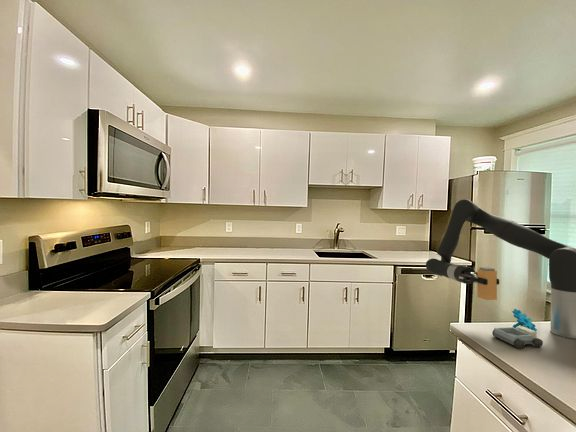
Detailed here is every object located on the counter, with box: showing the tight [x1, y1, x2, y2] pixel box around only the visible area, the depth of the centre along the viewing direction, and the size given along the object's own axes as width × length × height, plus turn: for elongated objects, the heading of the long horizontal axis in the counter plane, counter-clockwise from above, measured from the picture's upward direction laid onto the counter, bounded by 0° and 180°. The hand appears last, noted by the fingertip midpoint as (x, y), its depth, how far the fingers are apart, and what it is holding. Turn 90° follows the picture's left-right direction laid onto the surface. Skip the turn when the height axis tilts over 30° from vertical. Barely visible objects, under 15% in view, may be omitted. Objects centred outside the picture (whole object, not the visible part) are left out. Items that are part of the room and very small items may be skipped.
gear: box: [512, 308, 538, 332], centre depth 118 cm, size 11×6×10 cm
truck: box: [492, 326, 544, 350], centre depth 105 cm, size 11×10×4 cm
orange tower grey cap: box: [476, 266, 498, 301], centre depth 117 cm, size 4×4×12 cm
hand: (492, 282), depth 114 cm, fingers closed on orange tower grey cap, 4 cm apart
